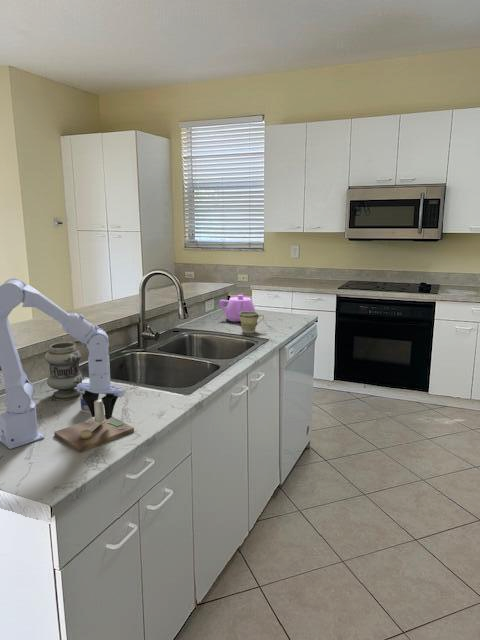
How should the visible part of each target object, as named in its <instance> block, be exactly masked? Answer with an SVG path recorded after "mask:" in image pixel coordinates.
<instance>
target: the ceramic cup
mask: <svg viewBox="0 0 480 640" xmlns="http://www.w3.org/2000/svg"><path fill="white" fill-rule="evenodd" d="M239 314H240V320H241V321H240V324H241V330H242V333H245V334H254V333H255V332H256V328H257V326H258V324H260V323H261V322H262V321H263V320H264V319H265V317H264V315H263V314H259V312H256V311H255V312H251V311H246V312H240V313H239ZM259 317H263V318H262V319H260V320H259V321H258V319H259Z"/></svg>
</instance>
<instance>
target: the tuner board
mask: <svg viewBox="0 0 480 640" xmlns="http://www.w3.org/2000/svg"><path fill="white" fill-rule="evenodd" d="M94 423H95V417H93V418H92V419H88V420H84V421H83V422H79V423H77V424H73V425H70V426H68V427H64V428H60V429H59V430H55V431H54V433H53V434H54V437H55V438H57V439H59V440H60V441H61V442H64V443H65V444H66V445H68V446H69V447H71V448H72V449H74V450H75V451H76V452H78V453H82V452H84V451H87V450H90V449H92V448H95V447H99V446H101V445H103V444H106V443H109V442H111V441H113V440H115V439H119V438H122V437H124V436H127V435H129V434H132V433H134V432H135V427H133V426H131V425H129V424H127V423H125V422H124V421H121V420H120V419H117V417H114V416H112V417H111V418H110V419H108V420H107V419H106V418H105V414H104V421H103V423H101V424H100V425H99V426H98V427H97V428H96V429H95V430H94V431H92V436H91V437H90V438H87V439H82V438H80V432H81V431H83V430H87V429H88V428H89V427H91V426H92V425H93V424H94Z"/></svg>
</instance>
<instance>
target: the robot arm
mask: <svg viewBox="0 0 480 640" xmlns="http://www.w3.org/2000/svg"><path fill="white" fill-rule="evenodd" d="M21 303H22V306H21V307H22V308H35V309H37V310H38V311H41V313H44V314H46V315H47V316H49V317H50V318H52V319H53V320H54V321H56V322H59V324H61V327H62V331H64V332H65V333H67V334H68V335H69V336H71V337H73V338H74V339H75V340H77V341H78V342H80V343H81V344H85V345H86V348H87V350H88V357H87V360H88V363H87V364H88V379H89V382H90V383H80V384H78V385H77V387H76V389H77V391H85V393H84V394H83V395H82V398H83V399H84V400H85V402H86V403H87V405H88V407H89V410H90V412H89V413H90V416H91V417H92V418H95V413H94V401H95V400H98V399H99V397H100V394H102V395H104V396H103V397H101V400H102V401H103V406H104V415H105V418H106V419H107V420H108V419H110V418H111V417H113V413H114V407H115V405H116V402H117V400H118V398H120V399H121V398H122V397H124V396H125V388H121V387H119V386H116V385H113V384H112V383H111V369H110V368H111V367H110V355H109V352H110V351H109V347H110V342H109V335H108V334H107V332H106V331H105V330H104V329H103V328H100V327H99V326H98V325H96V324H95V325H94V324H92V323H91V322H89V321H88V320H87V319H85V316H84V314H82V313H80V314H78V313H76V312H75V313H68V312H67V311H66V310H64V309H63V308H61V306H59V305H57V303H55V302H54V301H52V300H51V299H50V298H49V297H47V296H46V295H44V294H42V293H41V292H40V291H39V290H37V289H36V288H34V287H33V286H32V285H30V284H26V283H25V282H24V281H23V280H21V279H19V278H10V279H7V280H6V281H5V282H4V283H2V284H1V285H0V369H1V371H2V375H3V378H4V391H5V395H6V396H5V400H4V404H5V407H6V410H5V411H3V412H2V413H0V442H1V443H2V444H3V445H4V446H6V447H7V448H8V449H10V450H12V449H14V448H17V447H18V448H19V447H21V446H23V445H24V446H25V445H27V444H29V443H32V442H36V441H39V440H41V439H44V438H45V435H43V434H42V433H41V432H40V431H39V428H38V427H39V426H38V419H37V418H38V417H37V407H36V403H35V402H34V400H33V396H34V395H35V386H34V385H33V383H32V382H31V381H30V380H29V378H28V375H27V373H26V372H25V371H24V368H23V365H22V361H21V359H20V355H19V351H18V348H17V345H16V341H15V337H14V334H13V331H12V327H11V325H10V324H11V323H10V321H9V315H10V314H11V313H12V311H13V310H14V309H15V308H16V307H18V306H19V305H20V304H21Z"/></svg>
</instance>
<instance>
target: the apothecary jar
mask: <svg viewBox="0 0 480 640" xmlns="http://www.w3.org/2000/svg"><path fill="white" fill-rule="evenodd" d="M82 358H83V353H82V351H81V350H80V349H78V348H77V345H76V343H75V342H72V341H60V342H55V343H52V344H50V346H49V347H48V351H47V352H46V354H45V356H44V360H45V362H46V363H47V364H49V376H48V377H47V379H46V384H47V385H48V387H49V388H51V389H53V390H56V391H54V392H53V393H52V395H51V398H52V399H53V400H55V401H69V400H73V399H77V398H80V391H77V385H78V384H80V383H82V380H85V375H84V373H83V372H82V371H81V369H80V360H81V359H82Z"/></svg>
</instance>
